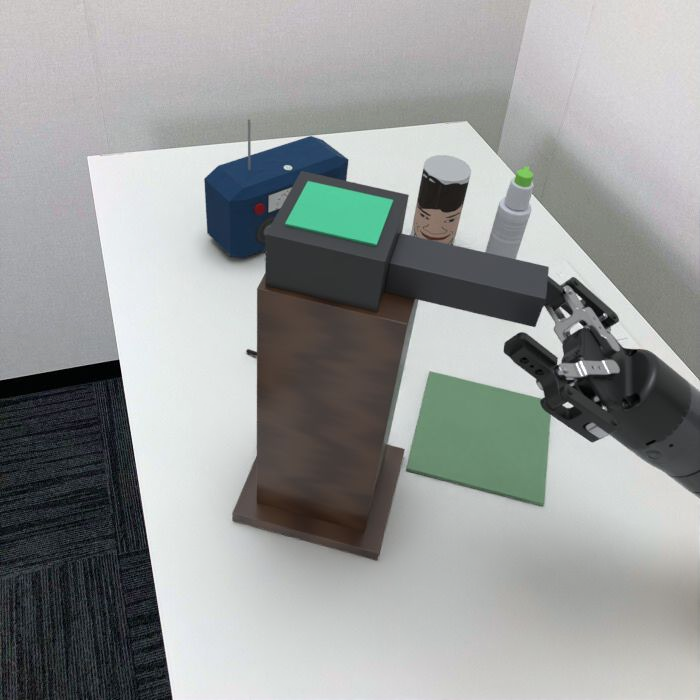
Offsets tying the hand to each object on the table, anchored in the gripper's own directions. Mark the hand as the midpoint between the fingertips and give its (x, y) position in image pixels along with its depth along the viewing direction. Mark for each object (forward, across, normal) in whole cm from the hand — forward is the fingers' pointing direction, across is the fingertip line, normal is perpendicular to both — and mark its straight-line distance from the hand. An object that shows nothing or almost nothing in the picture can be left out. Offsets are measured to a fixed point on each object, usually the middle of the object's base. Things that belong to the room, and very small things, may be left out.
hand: (516, 304), depth 58 cm
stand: (-4, 0, +35) cm, 35 cm away
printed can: (-8, -46, +33) cm, 57 cm away
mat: (-19, -13, +26) cm, 35 cm away
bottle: (-17, -41, +28) cm, 52 cm away
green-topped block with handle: (+8, 0, +5) cm, 9 cm away
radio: (+12, -43, +44) cm, 63 cm away
